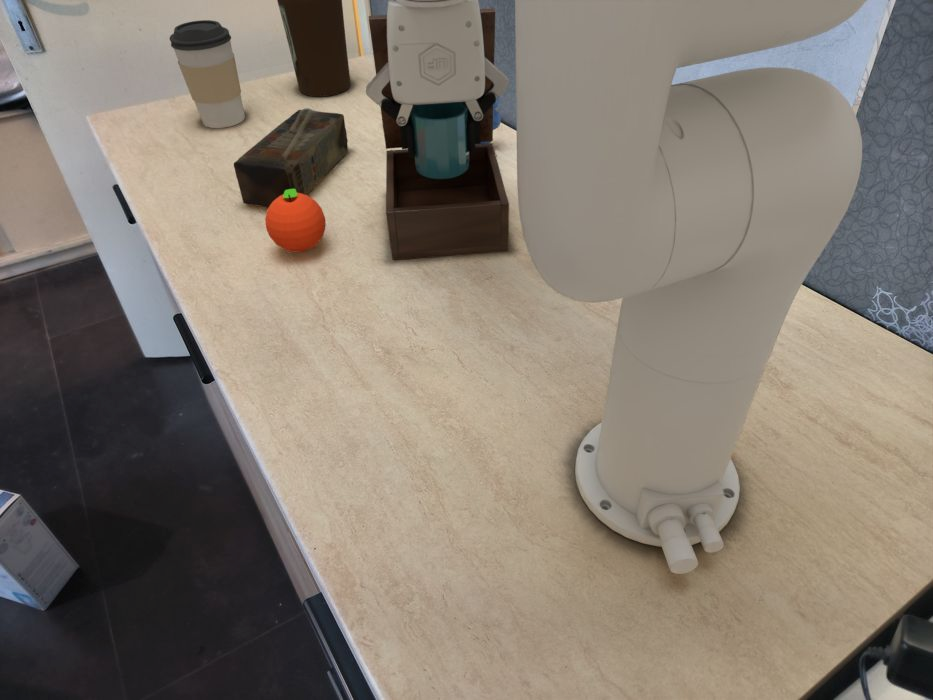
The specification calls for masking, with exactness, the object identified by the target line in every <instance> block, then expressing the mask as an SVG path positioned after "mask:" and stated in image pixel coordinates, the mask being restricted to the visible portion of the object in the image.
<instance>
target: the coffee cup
mask: <svg viewBox="0 0 933 700" xmlns="http://www.w3.org/2000/svg"><path fill="white" fill-rule="evenodd" d="M231 39H232V35H231V34H230V31H229V29H228V28H227V27H224V26H222V24H221V23H220V22H219V21H217V20H211V19H210V20H209V19H207V20H206V19H203V20H193V21H188V22H184V23H181V24H178V25H177V26H175V27H174V29H173V33H172V34H171V35H170V36H169V41H170V47H171V48H173V51H174V53H175V56H176V58H177V64H178V66H179V67H178V68H179V69H180V72H181V75H182V76H183V77H182V78H183V79H184V82H185V84H186V86H187V89H188V92H189V94H190V97H191V99H192V101H193V102H194V104H195V106H196V109H197V112H198V114H199V117H200V119H201V122H202V125H203V126H204V127H207V128H211V129H222V128H223V129H224V128H229V127H234V126H236V125H239V124H240V123H242V122H243V121H244V120H245V119H246V115H245V110H244V109H245V108H244V105H243V100H242V89H241V83H240V78H239V74H238V69H237V62H236V58H235V57H236V56H235V53H234V52H233V48H232V42H231Z"/></svg>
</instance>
